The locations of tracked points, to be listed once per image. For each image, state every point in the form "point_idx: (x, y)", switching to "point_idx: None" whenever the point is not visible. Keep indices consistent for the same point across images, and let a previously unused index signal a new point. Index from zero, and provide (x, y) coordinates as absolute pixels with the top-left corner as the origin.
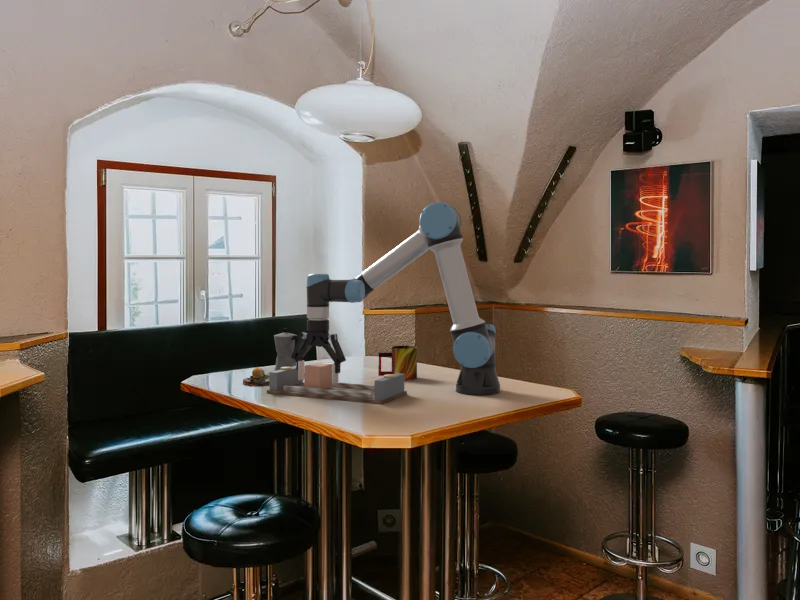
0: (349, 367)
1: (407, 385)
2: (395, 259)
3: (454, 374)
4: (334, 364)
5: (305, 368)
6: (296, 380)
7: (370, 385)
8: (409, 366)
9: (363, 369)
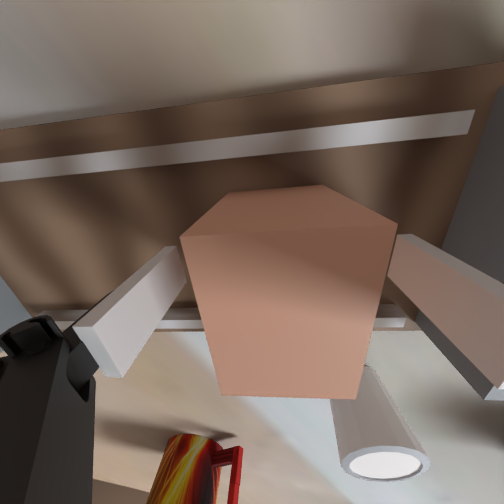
0: (380, 496)
1: (126, 401)
2: None
3: (147, 479)
4: (77, 326)
5: (369, 217)
6: None
7: None
8: (154, 485)
9: (337, 488)
